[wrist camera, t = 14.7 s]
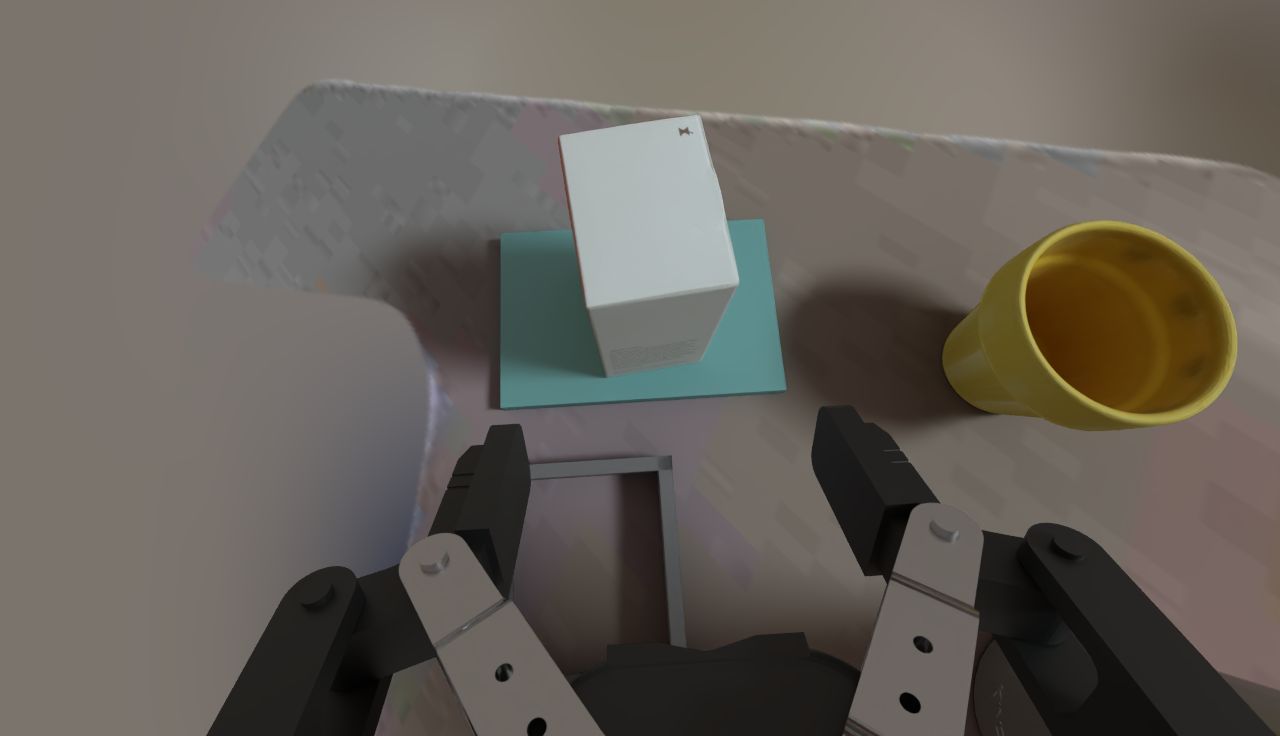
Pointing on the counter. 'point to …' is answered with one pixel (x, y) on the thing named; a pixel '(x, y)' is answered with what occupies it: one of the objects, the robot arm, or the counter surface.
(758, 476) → the counter surface
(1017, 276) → the plant pot
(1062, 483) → the counter surface
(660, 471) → the tray frame
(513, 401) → the board
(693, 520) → the counter surface
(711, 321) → the small box
